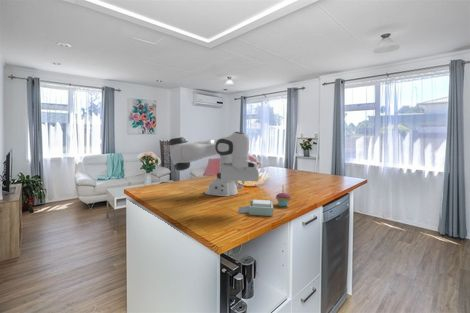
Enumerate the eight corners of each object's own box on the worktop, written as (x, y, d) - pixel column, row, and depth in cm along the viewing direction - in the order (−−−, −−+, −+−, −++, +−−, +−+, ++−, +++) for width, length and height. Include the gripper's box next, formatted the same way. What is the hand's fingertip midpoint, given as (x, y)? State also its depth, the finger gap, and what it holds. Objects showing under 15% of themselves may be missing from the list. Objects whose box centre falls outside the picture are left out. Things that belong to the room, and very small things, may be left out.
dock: (237, 215, 121) (237, 206, 120) (239, 208, 134) (239, 199, 133) (272, 217, 119) (273, 208, 118) (272, 210, 131) (272, 201, 131)
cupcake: (274, 203, 142) (274, 183, 141) (287, 203, 143) (288, 183, 142) (277, 207, 133) (278, 186, 132) (292, 207, 134) (293, 186, 133)
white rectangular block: (252, 211, 122) (252, 203, 122) (253, 207, 129) (253, 199, 129) (270, 212, 121) (270, 204, 121) (270, 208, 128) (270, 200, 128)
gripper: (219, 163, 123) (219, 189, 124) (259, 164, 121) (258, 191, 122) (221, 161, 129) (221, 186, 131) (259, 163, 127) (258, 188, 128)
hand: (239, 189), depth 126 cm, fingers closed
